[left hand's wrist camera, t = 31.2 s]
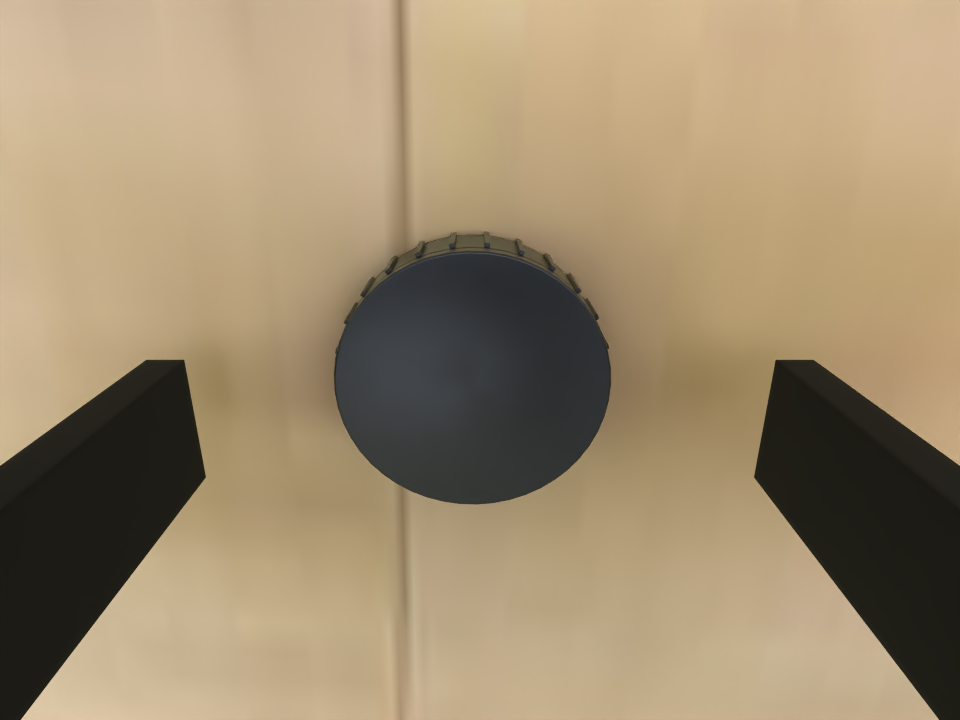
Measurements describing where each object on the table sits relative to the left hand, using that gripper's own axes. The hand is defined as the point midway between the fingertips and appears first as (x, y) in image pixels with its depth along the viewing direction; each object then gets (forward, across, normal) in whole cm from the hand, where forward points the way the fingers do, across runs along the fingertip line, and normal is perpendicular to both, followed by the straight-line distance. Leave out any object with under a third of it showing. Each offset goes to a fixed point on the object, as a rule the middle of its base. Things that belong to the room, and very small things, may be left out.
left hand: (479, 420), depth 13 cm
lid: (+1, 0, -1) cm, 1 cm away
